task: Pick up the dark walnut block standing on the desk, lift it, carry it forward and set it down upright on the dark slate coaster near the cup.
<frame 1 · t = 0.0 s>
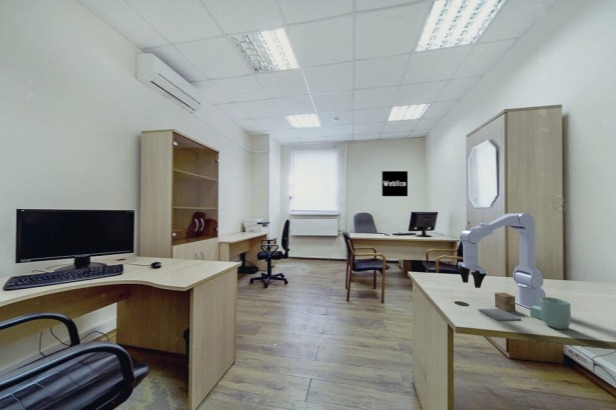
hand: (471, 285, 109), 10 cm above the table, tool pointing down, fingers open, 7 cm apart
walnut block: (505, 308, 106), on the table
slate coaster: (498, 315, 99), on the table
teal block: (539, 317, 97), on the table
cup: (556, 327, 89), on the table
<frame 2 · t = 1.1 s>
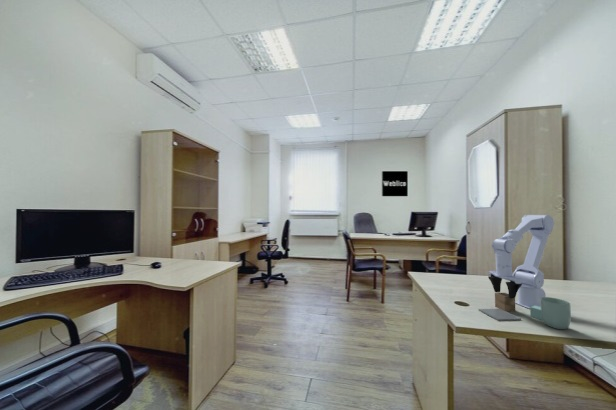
hand: (504, 295, 106), 6 cm above the table, tool pointing down, fingers open, 7 cm apart
nothing on the table moved.
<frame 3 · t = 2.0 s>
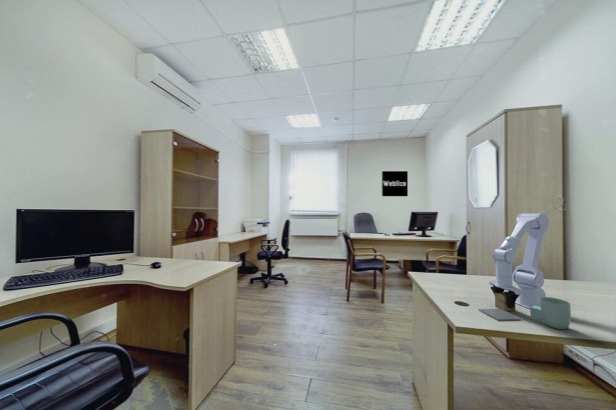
hand: (505, 305, 106), 2 cm above the table, tool pointing down, fingers closed on walnut block, 5 cm apart
walnut block: (505, 308, 106), on the table, touching gripper
everything else where it was.
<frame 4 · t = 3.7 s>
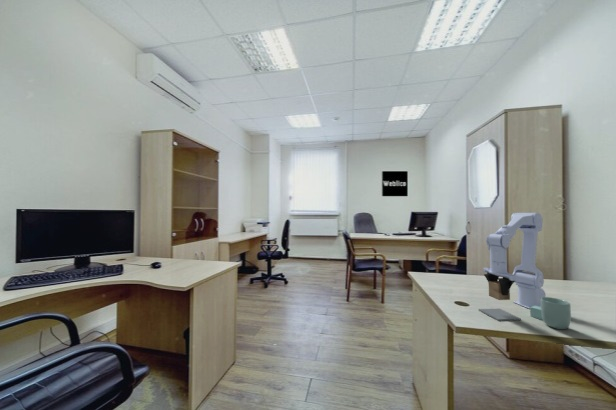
hand: (499, 292, 101), 9 cm above the table, tool pointing down, fingers closed on walnut block, 5 cm apart
walnut block: (499, 297, 101), point 7 cm above the table, touching gripper
everything else where it was.
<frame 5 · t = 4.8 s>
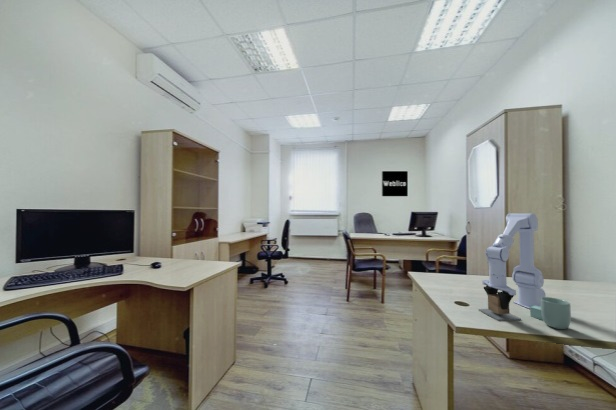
hand: (498, 306, 100), 4 cm above the table, tool pointing down, fingers closed on walnut block, 5 cm apart
walnut block: (498, 311, 100), point 2 cm above the table, touching gripper
everything else where it was.
when the fingers open (3 cm above the table, at t = 5.4 s): walnut block stays where it is, resting on slate coaster.
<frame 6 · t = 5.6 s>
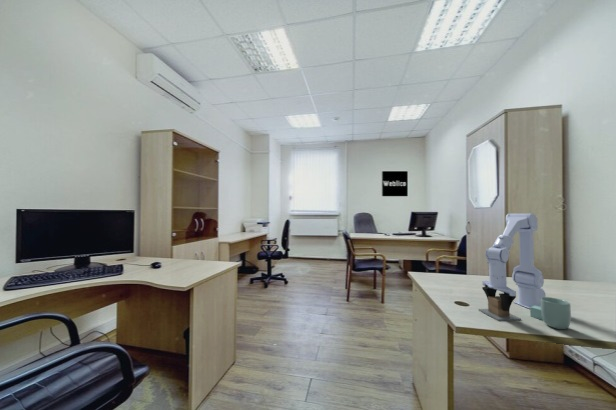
hand: (498, 307, 100), 3 cm above the table, tool pointing down, fingers open, 6 cm apart
walnut block: (498, 313, 100), point 1 cm above the table, touching slate coaster
everything else where it was.
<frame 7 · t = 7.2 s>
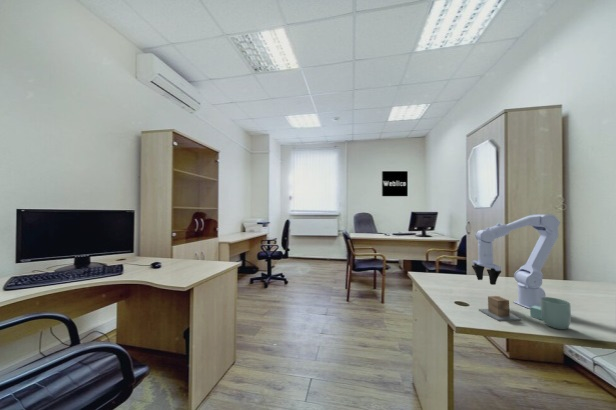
hand: (486, 282, 114), 10 cm above the table, tool pointing down, fingers open, 7 cm apart
nothing on the table moved.
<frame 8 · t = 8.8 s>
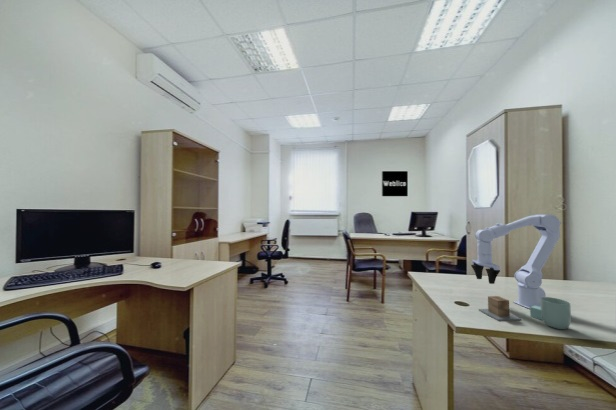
hand: (485, 281, 115), 10 cm above the table, tool pointing down, fingers open, 7 cm apart
nothing on the table moved.
at the end: walnut block inside the target area on the slate coaster (0.0 cm from its centre), point 0.6 cm above the slate coaster's base; walnut block tilted 0°; the gripper is holding nothing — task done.
